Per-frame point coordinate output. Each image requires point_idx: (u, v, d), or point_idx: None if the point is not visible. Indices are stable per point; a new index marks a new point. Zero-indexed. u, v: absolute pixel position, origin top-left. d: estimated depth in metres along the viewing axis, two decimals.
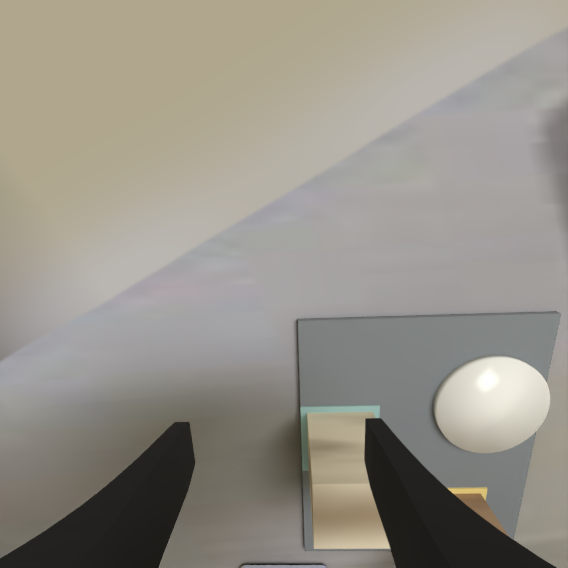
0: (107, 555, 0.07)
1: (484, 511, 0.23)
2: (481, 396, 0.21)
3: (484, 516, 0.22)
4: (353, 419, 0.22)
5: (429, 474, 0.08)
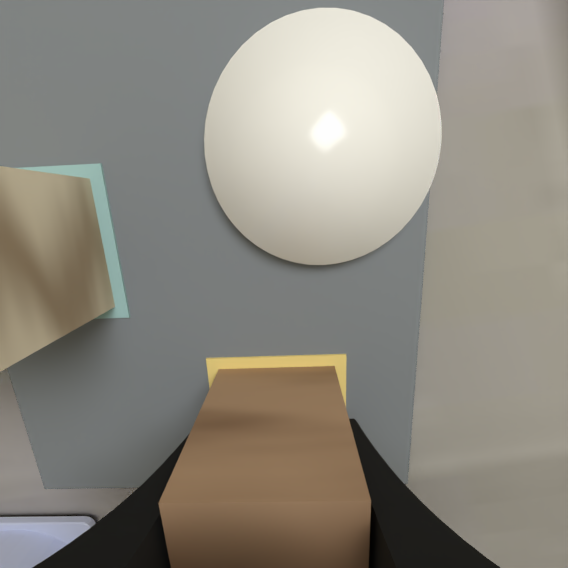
0: (150, 555, 0.07)
1: (324, 386, 0.11)
2: (292, 118, 0.10)
3: (319, 392, 0.11)
4: None
5: (393, 475, 0.09)
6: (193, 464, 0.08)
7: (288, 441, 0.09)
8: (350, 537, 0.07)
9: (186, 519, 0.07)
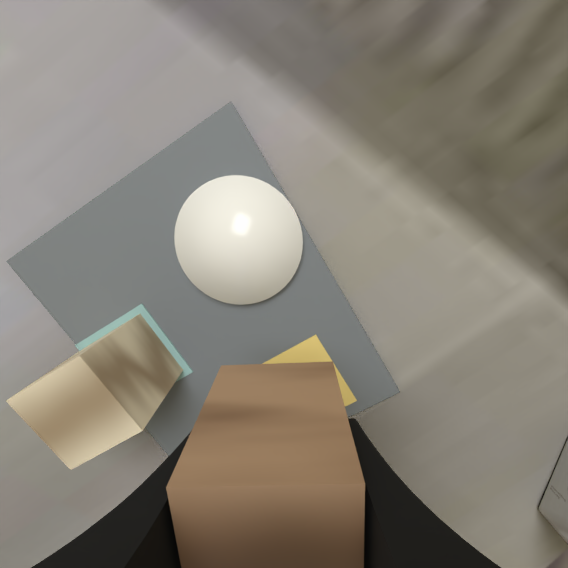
0: (149, 555, 0.07)
1: (322, 380, 0.12)
2: (216, 237, 0.18)
3: (317, 386, 0.11)
4: (115, 329, 0.20)
5: (393, 475, 0.09)
6: (198, 452, 0.09)
7: (287, 431, 0.09)
8: (346, 518, 0.08)
9: (192, 502, 0.08)
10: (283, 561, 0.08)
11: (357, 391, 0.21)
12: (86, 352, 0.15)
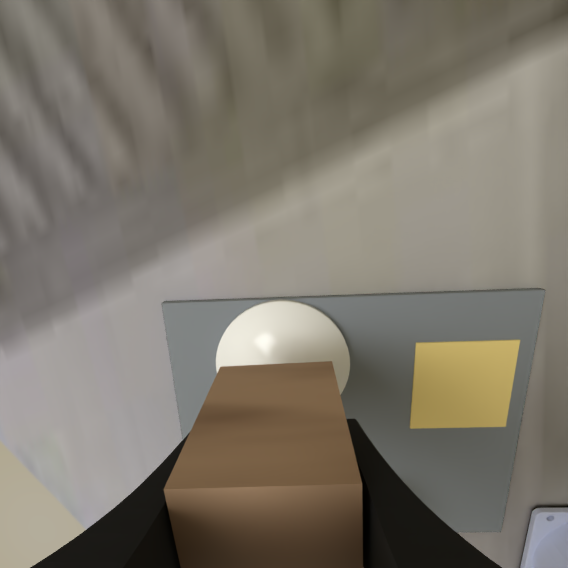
0: (148, 555, 0.07)
1: (321, 380, 0.12)
2: None
3: (316, 386, 0.11)
4: None
5: (394, 475, 0.09)
6: (196, 454, 0.09)
7: (285, 431, 0.09)
8: (344, 519, 0.08)
9: (190, 504, 0.08)
10: (282, 562, 0.08)
11: (509, 334, 0.17)
12: None
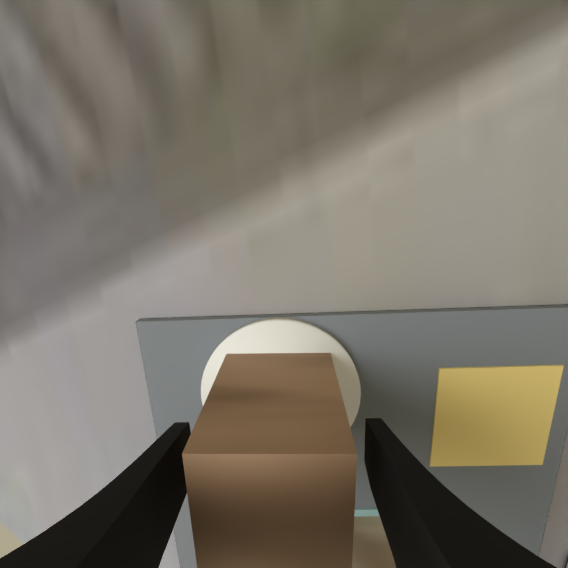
0: (107, 555, 0.07)
1: (320, 369, 0.13)
2: None
3: (316, 373, 0.12)
4: None
5: (429, 474, 0.08)
6: (209, 426, 0.10)
7: (289, 410, 0.10)
8: (339, 485, 0.09)
9: (204, 467, 0.09)
10: (283, 523, 0.09)
11: (551, 358, 0.15)
12: None
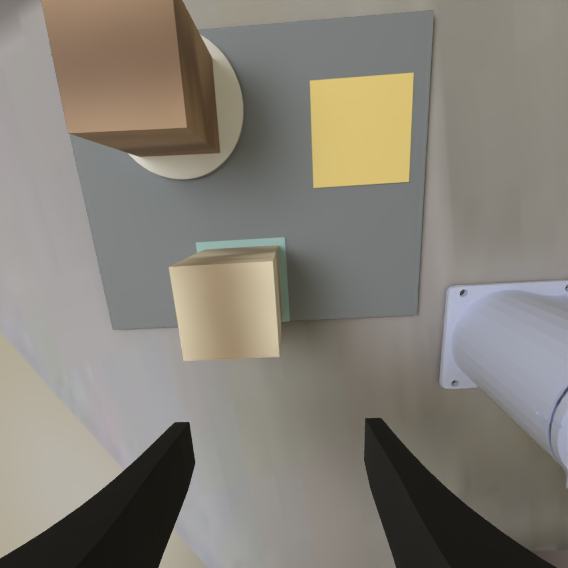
0: (107, 555, 0.07)
1: None
2: None
3: None
4: None
5: (429, 474, 0.08)
6: None
7: None
8: (162, 15, 0.11)
9: (57, 1, 0.11)
10: (125, 62, 0.12)
11: (402, 66, 0.17)
12: None
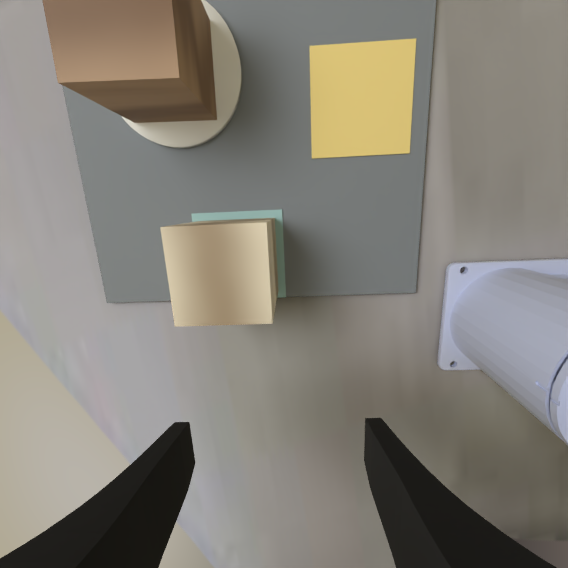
0: (107, 555, 0.07)
1: None
2: None
3: None
4: None
5: (429, 474, 0.08)
6: None
7: None
8: None
9: None
10: (116, 7, 0.11)
11: (405, 32, 0.17)
12: (165, 226, 0.14)
